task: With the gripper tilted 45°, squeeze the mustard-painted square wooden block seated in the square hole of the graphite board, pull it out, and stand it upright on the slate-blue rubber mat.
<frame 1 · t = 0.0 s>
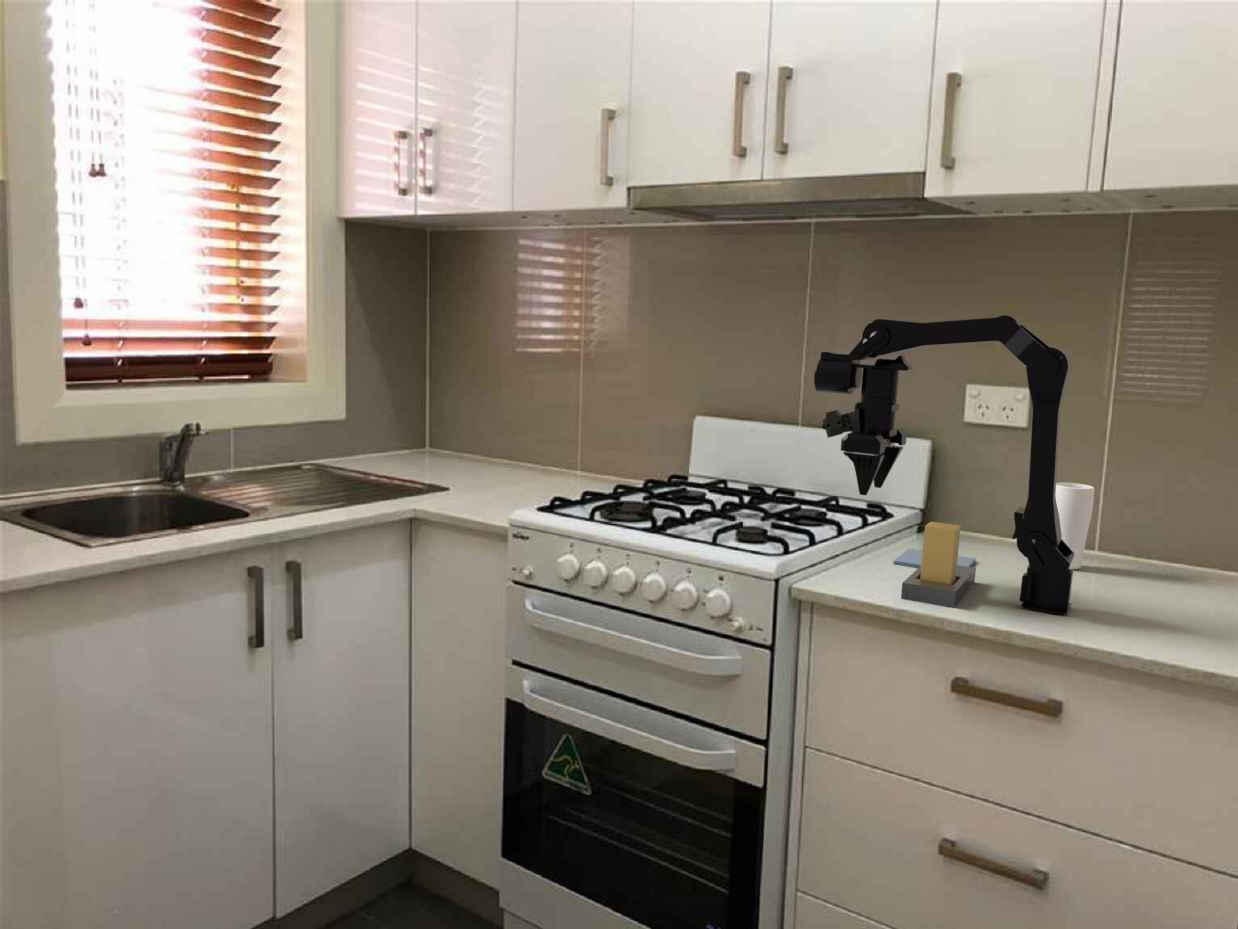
hand: (870, 491, 164), 15 cm above the worktop, tool pointing down, fingers open, 9 cm apart
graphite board: (936, 592, 158), on the worktop
slate mat: (934, 562, 179), on the worktop
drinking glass: (1064, 567, 180), on the worktop
mustard block: (936, 593, 158), resting in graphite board
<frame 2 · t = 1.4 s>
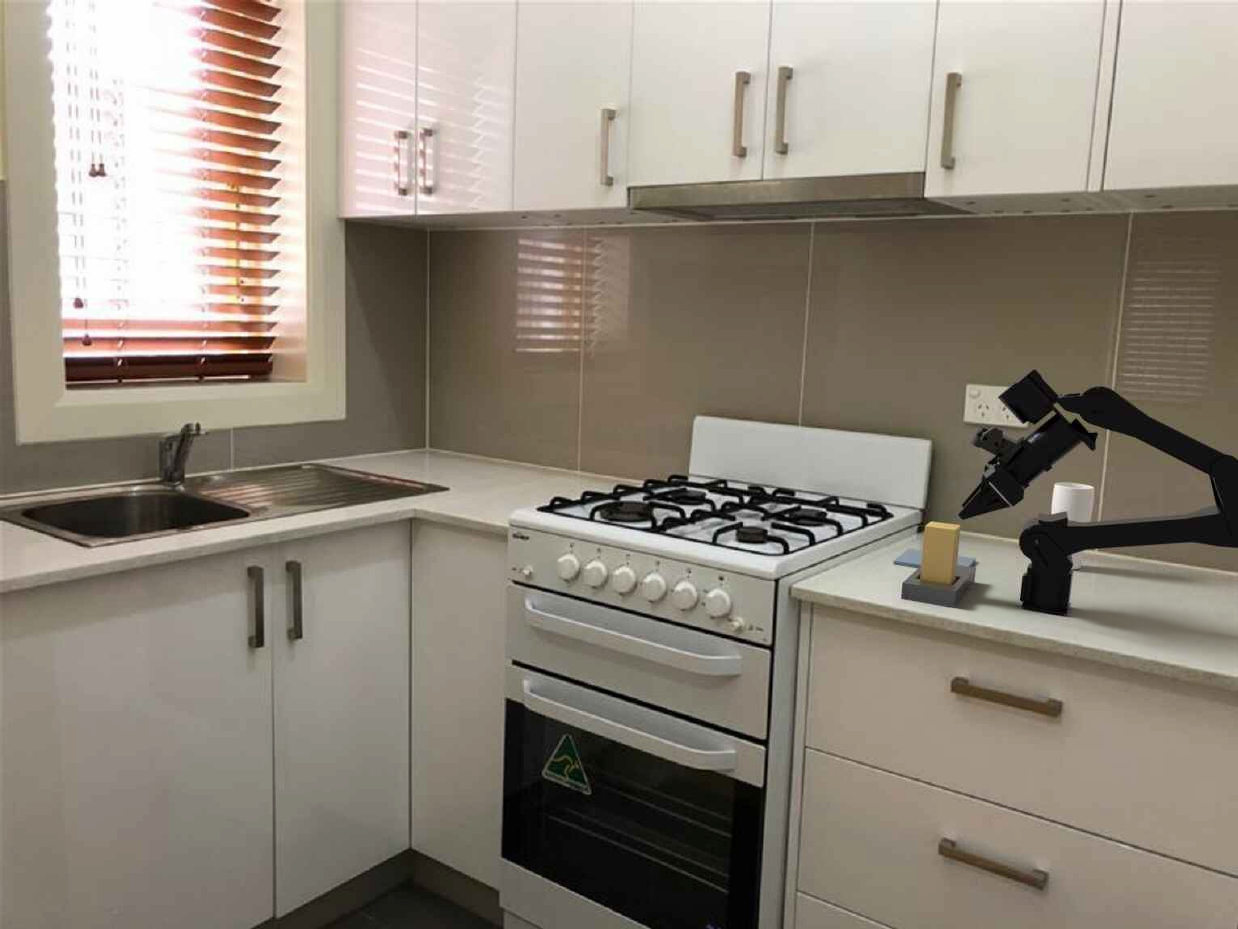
hand: (961, 512, 155), 13 cm above the worktop, tool tilted 45°, fingers open, 9 cm apart
nothing on the worktop moved.
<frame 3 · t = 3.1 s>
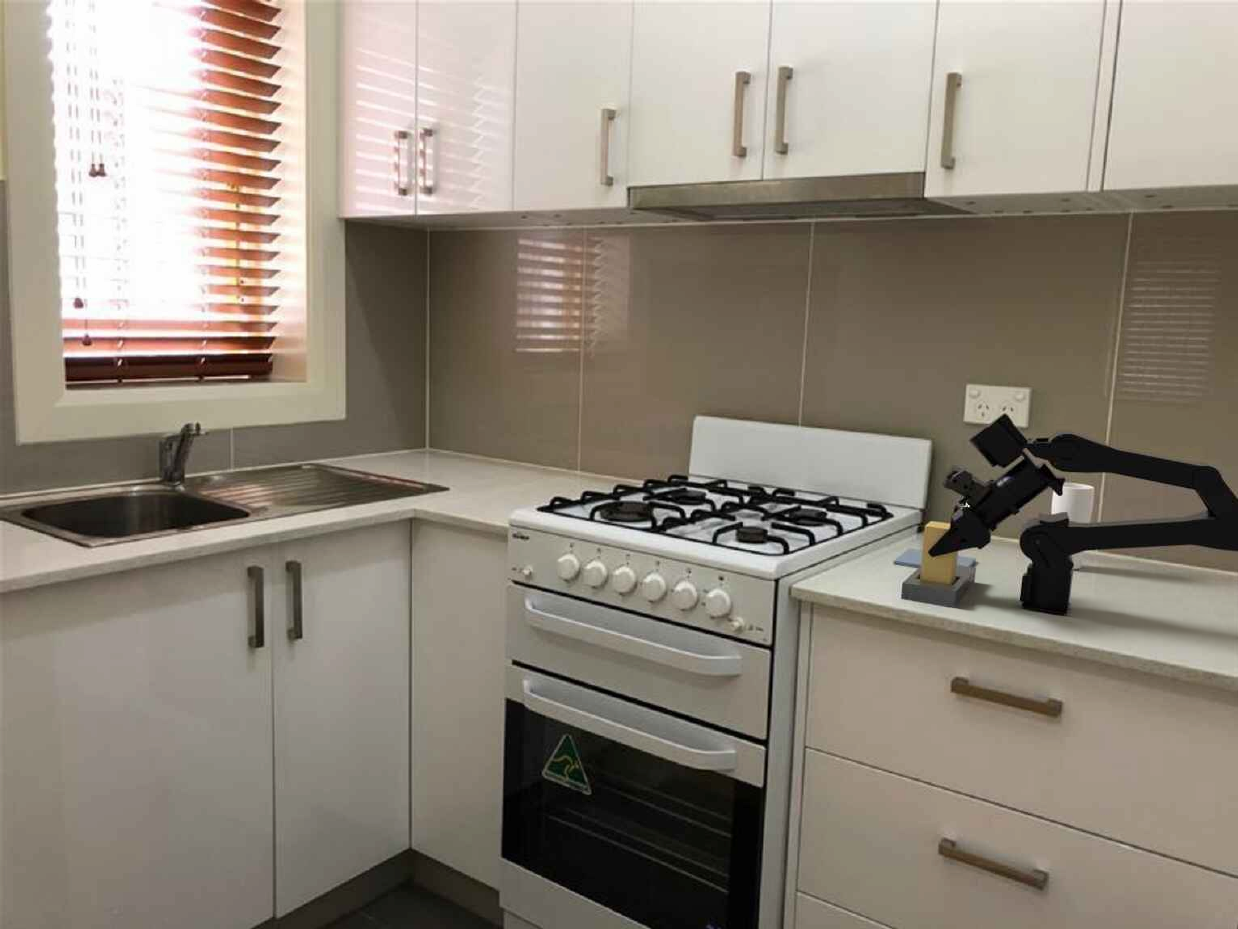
hand: (931, 551, 158), 7 cm above the worktop, tool tilted 45°, fingers closed on mustard block, 5 cm apart
mustard block: (936, 592, 158), resting in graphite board, touching gripper
everything else where it was.
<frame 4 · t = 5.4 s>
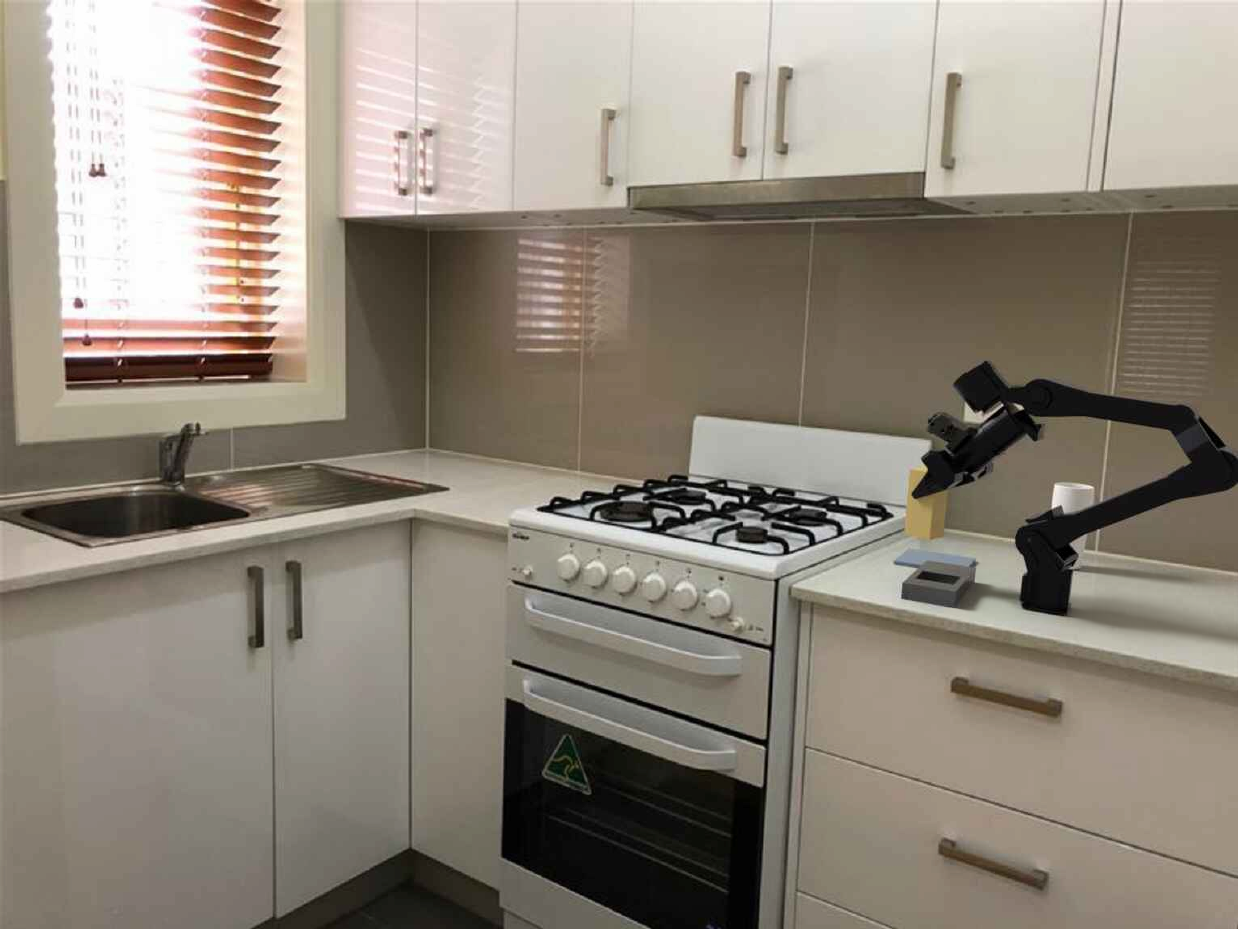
hand: (919, 495, 163), 14 cm above the worktop, tool tilted 45°, fingers closed on mustard block, 5 cm apart
mustard block: (923, 535, 164), point 8 cm above the worktop, touching gripper
everything else where it was.
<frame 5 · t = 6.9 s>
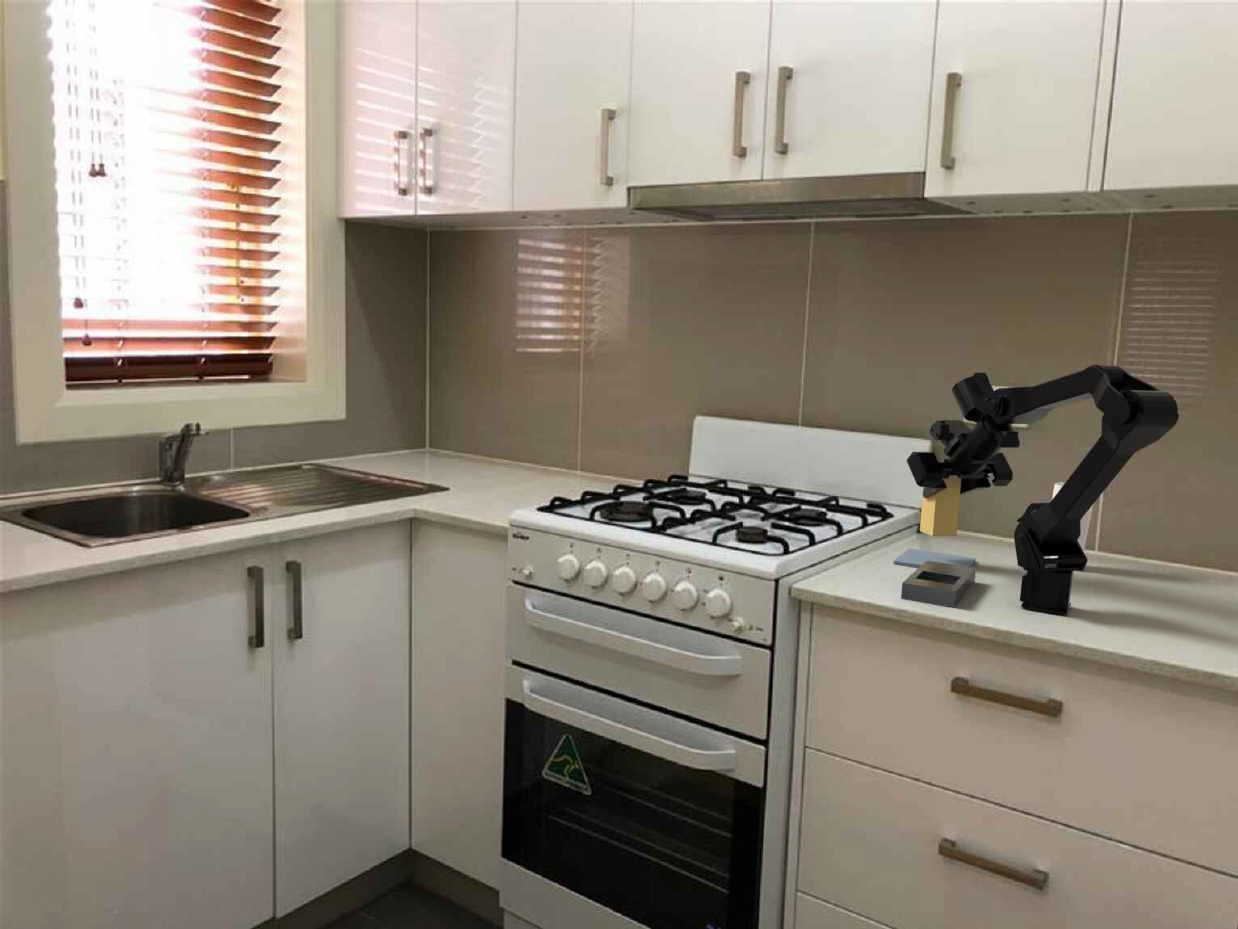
hand: (936, 496, 178), 12 cm above the worktop, tool tilted 45°, fingers closed on mustard block, 5 cm apart
mustard block: (937, 533, 178), point 5 cm above the worktop, touching gripper
everything else where it was.
when the fingers open (9 cm above the worktop, at t = 7.9 s): mustard block drops 1 cm, resting on slate mat.
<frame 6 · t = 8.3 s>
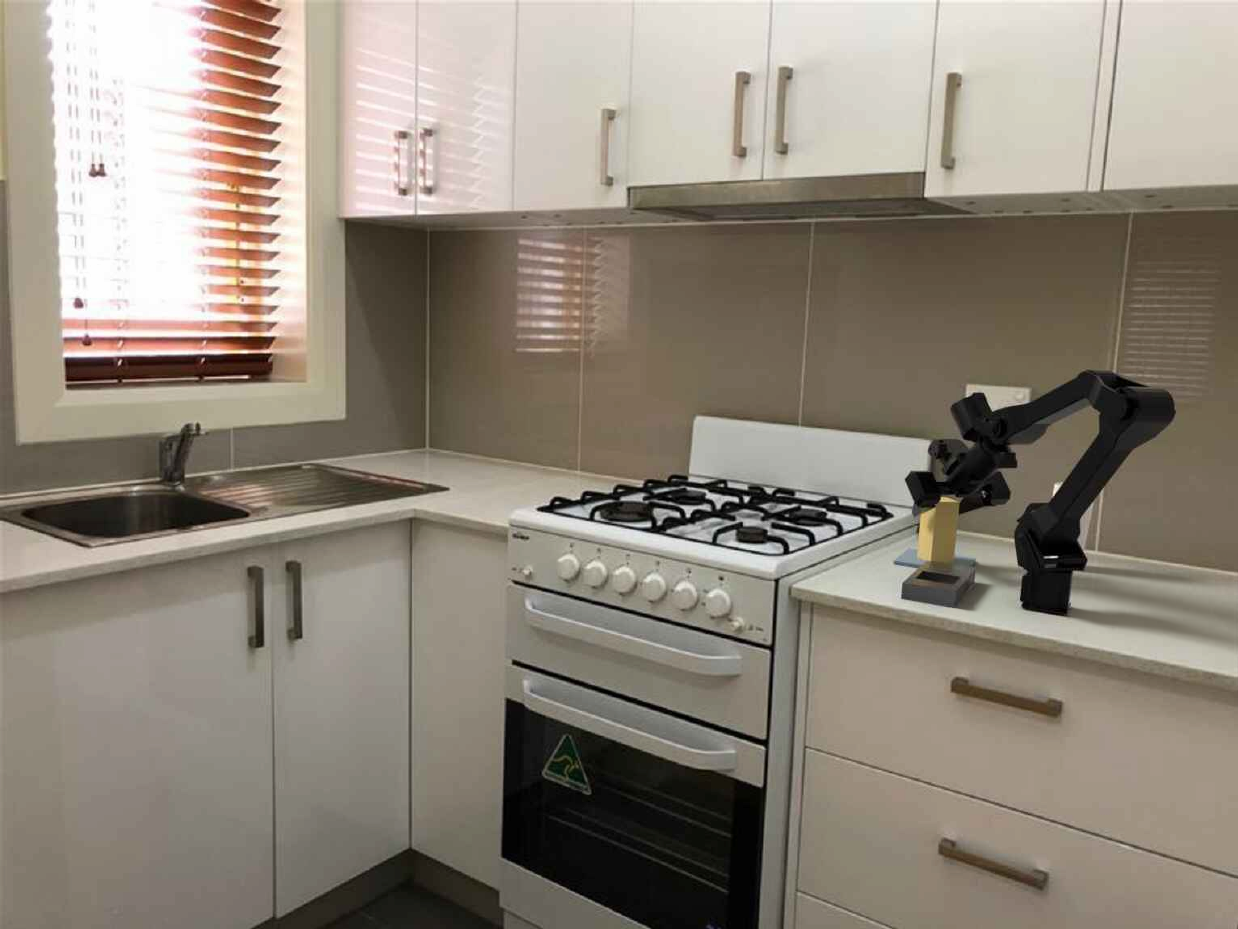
hand: (934, 514, 179), 9 cm above the worktop, tool tilted 45°, fingers open, 9 cm apart
mustard block: (935, 559, 179), point 1 cm above the worktop, touching slate mat
everything else where it was.
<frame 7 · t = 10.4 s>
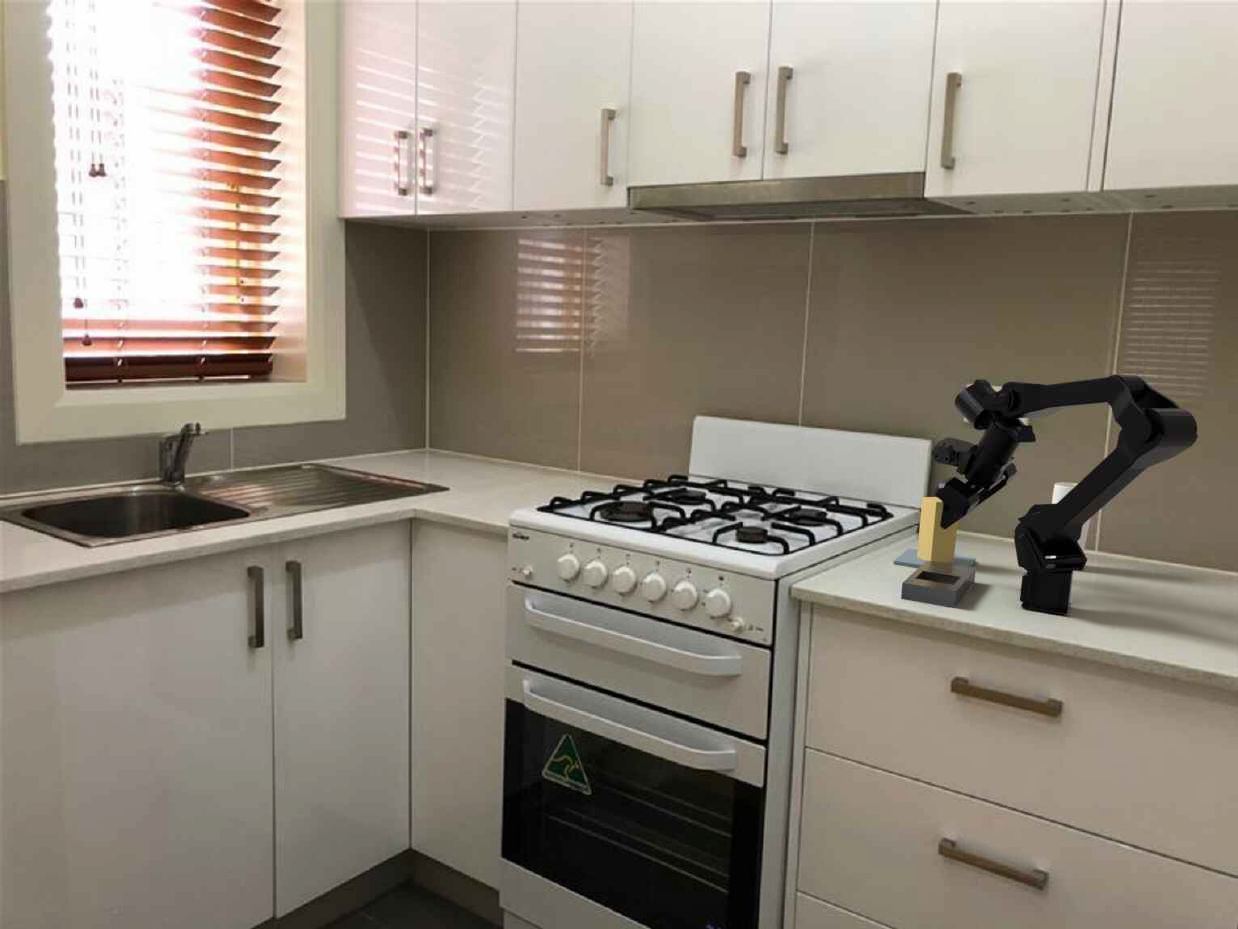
hand: (955, 518, 171), 9 cm above the worktop, tool tilted 30°, fingers open, 9 cm apart
nothing on the worktop moved.
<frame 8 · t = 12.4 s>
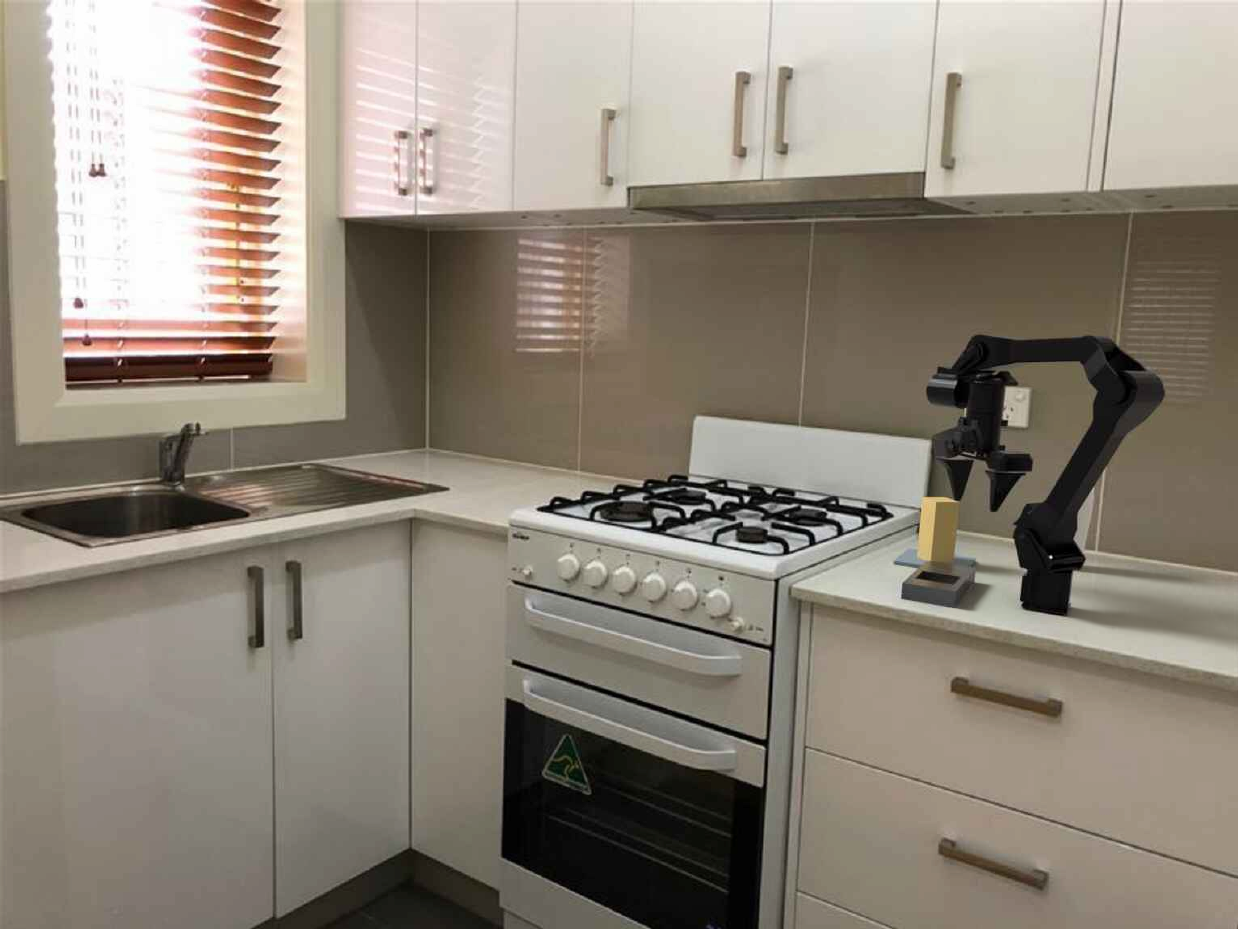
hand: (974, 506, 164), 13 cm above the worktop, tool pointing down, fingers open, 9 cm apart
nothing on the worktop moved.
at the end: mustard block inside the target area on the slate mat (0.0 cm from its centre), point 0.6 cm above the slate mat's base; mustard block tilted 0°; the gripper is holding nothing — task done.
